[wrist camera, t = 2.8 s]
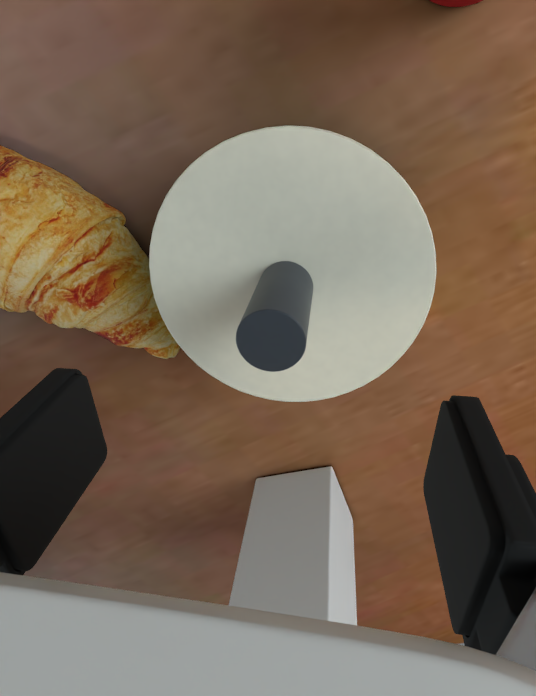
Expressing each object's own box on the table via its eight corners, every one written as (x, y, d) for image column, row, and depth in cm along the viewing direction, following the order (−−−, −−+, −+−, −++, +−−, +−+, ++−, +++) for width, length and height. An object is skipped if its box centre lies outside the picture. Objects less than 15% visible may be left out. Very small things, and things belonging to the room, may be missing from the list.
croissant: (219, 298, 34) (231, 305, 26) (137, 393, 34) (124, 429, 26) (-23, 88, 28) (-100, 18, 20) (-122, 202, 28) (-236, 175, 20)
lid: (176, 381, 25) (128, 463, 20) (137, 127, 19) (46, 136, 13) (408, 396, 24) (432, 491, 18) (457, 121, 17) (522, 127, 11)
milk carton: (331, 463, 36) (327, 757, 20) (353, 519, 39) (365, 813, 23) (255, 476, 38) (195, 751, 22) (281, 527, 41) (245, 803, 25)
